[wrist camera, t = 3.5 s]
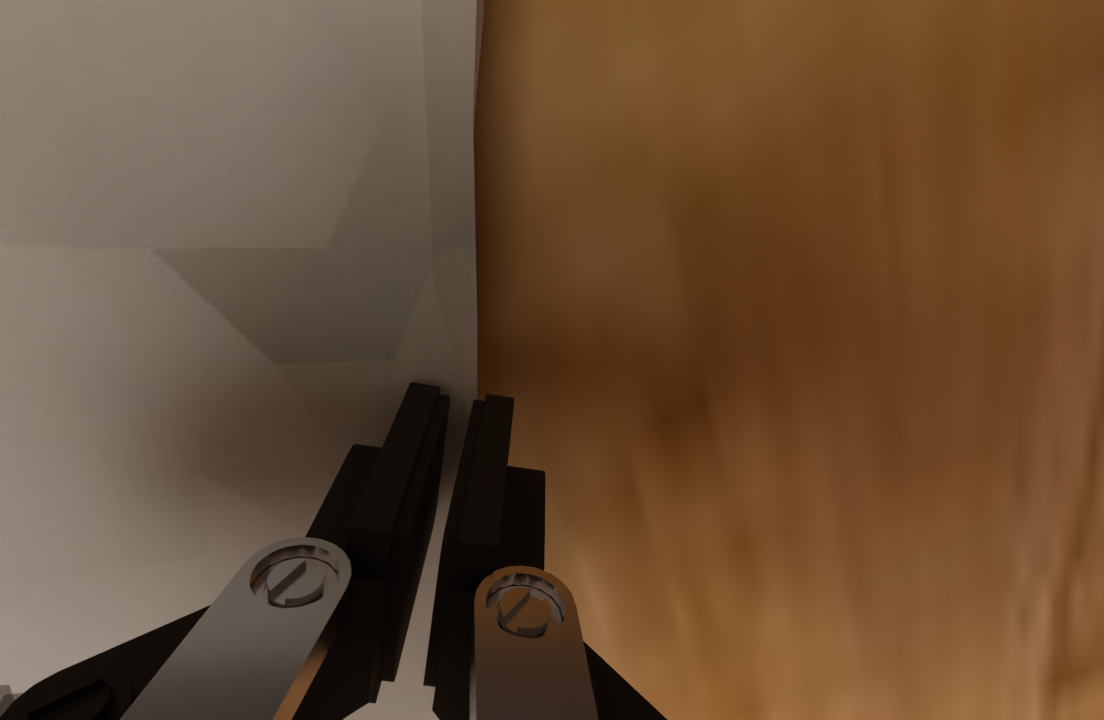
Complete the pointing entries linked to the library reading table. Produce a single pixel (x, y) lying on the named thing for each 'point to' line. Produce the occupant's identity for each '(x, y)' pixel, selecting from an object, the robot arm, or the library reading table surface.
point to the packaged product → (219, 295)
